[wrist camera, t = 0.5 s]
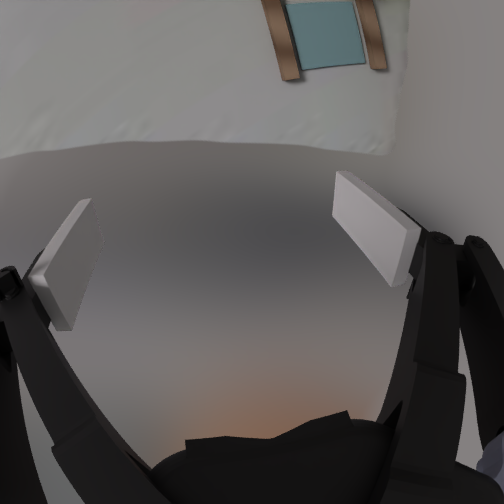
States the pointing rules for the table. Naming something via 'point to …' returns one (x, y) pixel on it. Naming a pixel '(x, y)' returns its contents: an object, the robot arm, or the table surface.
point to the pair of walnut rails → (285, 46)
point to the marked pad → (325, 34)
